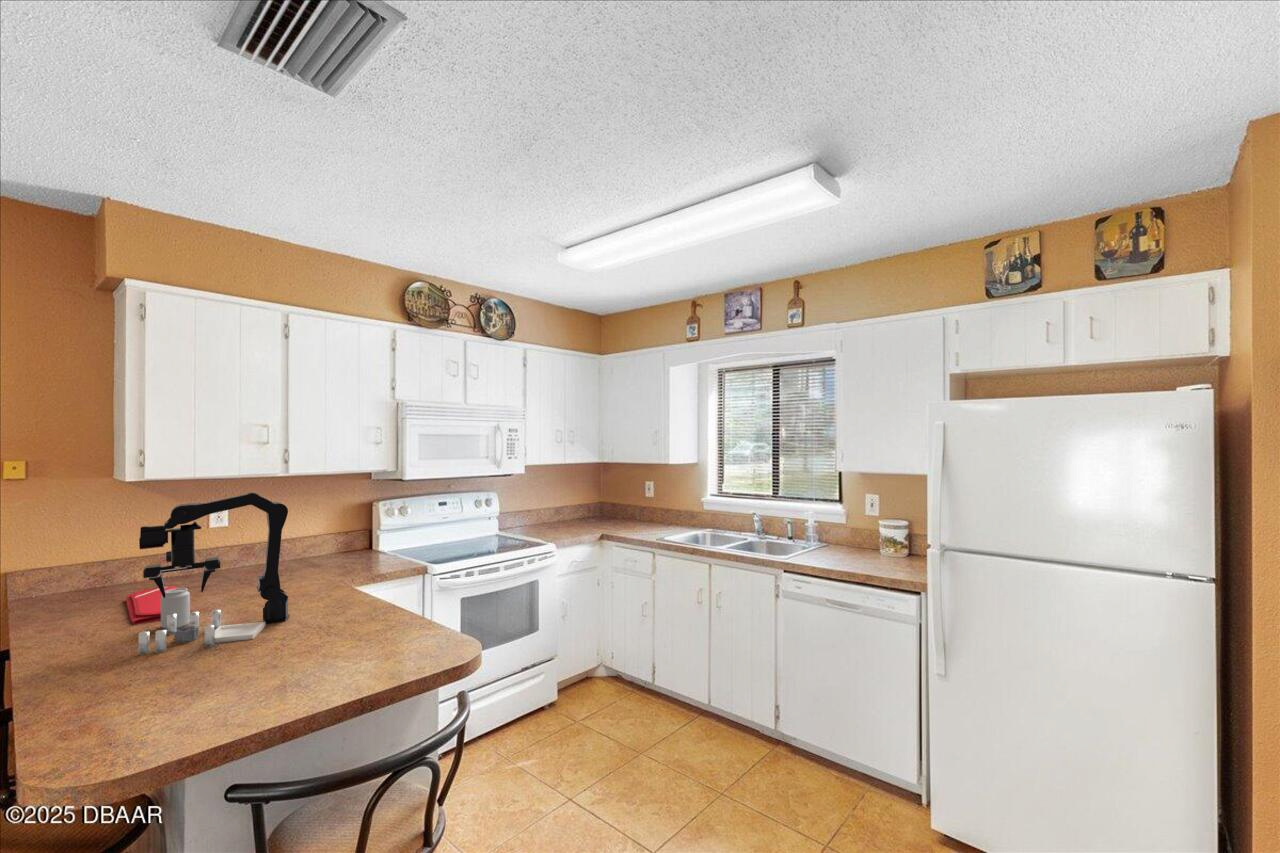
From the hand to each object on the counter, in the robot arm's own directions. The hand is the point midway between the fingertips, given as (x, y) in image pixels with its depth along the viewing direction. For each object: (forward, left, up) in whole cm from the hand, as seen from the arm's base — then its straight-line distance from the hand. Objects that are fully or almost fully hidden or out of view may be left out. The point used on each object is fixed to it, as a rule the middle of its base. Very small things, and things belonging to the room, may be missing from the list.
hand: (183, 594), depth 181 cm
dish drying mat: (+23, -40, -14) cm, 48 cm away
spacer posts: (-3, +4, -13) cm, 14 cm away
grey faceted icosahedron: (-2, +4, -13) cm, 14 cm away
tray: (-15, +4, -13) cm, 20 cm away
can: (+7, -12, -13) cm, 19 cm away
